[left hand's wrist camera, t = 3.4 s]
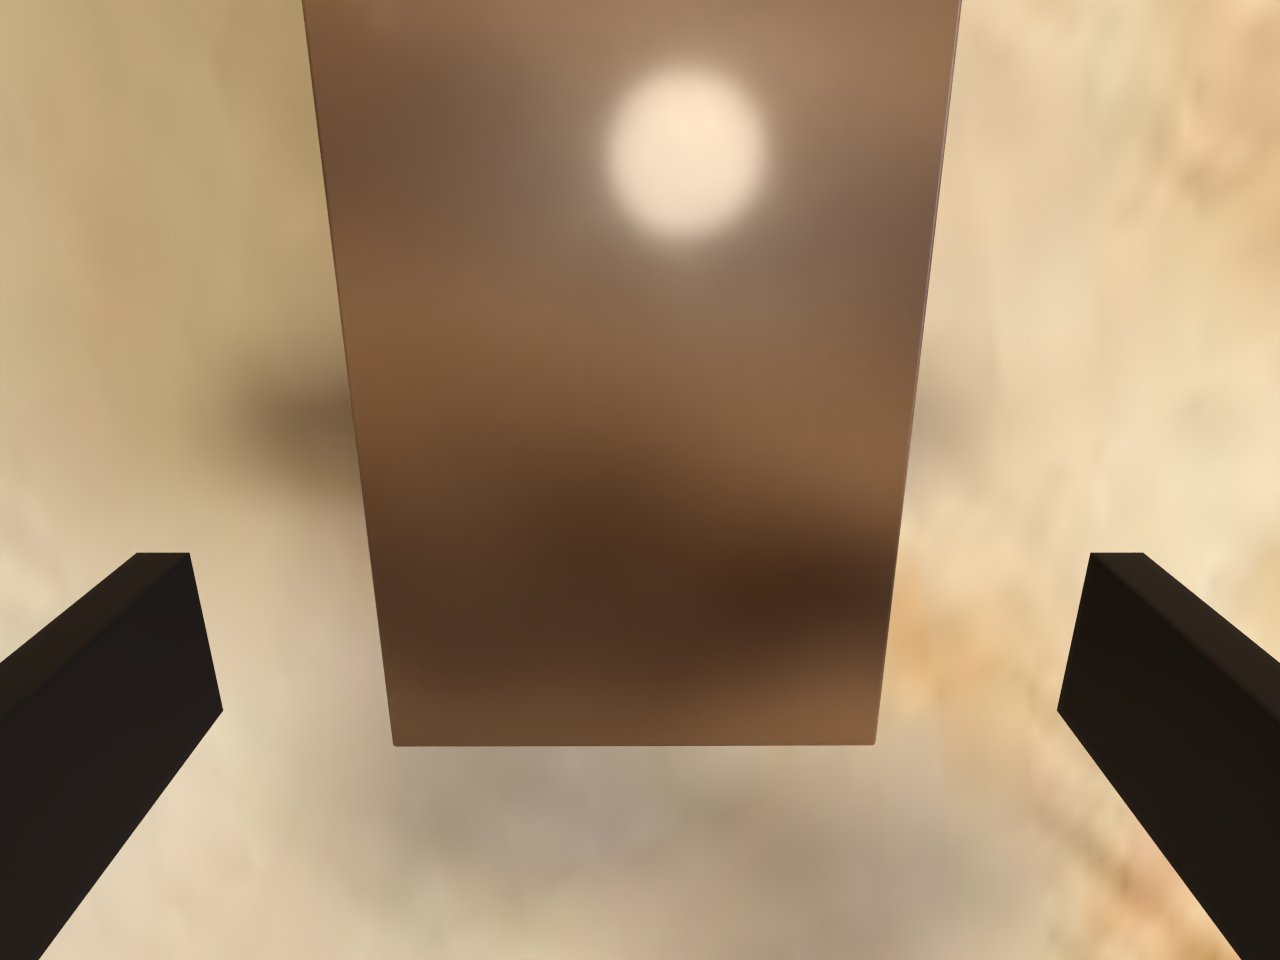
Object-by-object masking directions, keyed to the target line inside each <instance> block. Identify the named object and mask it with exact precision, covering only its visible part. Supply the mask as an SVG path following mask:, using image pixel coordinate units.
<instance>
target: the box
mask: <svg viewBox="0 0 1280 960" xmlns="http://www.w3.org/2000/svg"><path fill="white" fill-rule="evenodd" d="M961 4H962V0H302V6H303V14H304V22H305V31H306V39H307V47H308V55H309V63H310V71H311V79H312V88H313V96H314V104H315V112H316V120H317V128H318V136H319V145H320V153H321V161H322V169H323V177H324V185H325V194H326V202H327V210H328V218H329V226H330V234H331V242H332V251H333V259H334V267H335V275H336V283H337V291H338V300H339V308H340V316H341V324H342V332H343V340H344V348H345V357H346V365H347V373H348V381H349V389H350V397H351V405H352V414H353V422H354V430H355V438H356V446H357V454H358V463H359V471H360V479H361V487H362V495H363V503H364V511H365V520H366V528H367V536H368V544H369V552H370V560H371V568H372V577H373V585H374V593H375V601H376V609H377V617H378V626H379V634H380V642H381V650H382V658H383V666H384V674H385V683H386V691H387V699H388V707H389V715H390V723H391V731H392V740H393V745H394V746H766V745H874V744H875V741H876V732H877V724H878V715H879V706H880V698H881V689H882V681H883V672H884V664H885V655H886V646H887V638H888V629H889V621H890V612H891V604H892V595H893V586H894V578H895V569H896V561H897V552H898V544H899V535H900V527H901V518H902V509H903V501H904V492H905V484H906V475H907V467H908V458H909V449H910V441H911V432H912V424H913V415H914V407H915V398H916V390H917V381H918V372H919V364H920V355H921V347H922V338H923V330H924V321H925V312H926V304H927V295H928V287H929V278H930V270H931V261H932V252H933V244H934V235H935V227H936V218H937V210H938V201H939V193H940V184H941V175H942V167H943V158H944V150H945V141H946V133H947V124H948V115H949V107H950V98H951V90H952V81H953V73H954V64H955V56H956V47H957V38H958V30H959V21H960V13H961Z"/></svg>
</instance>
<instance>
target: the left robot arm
mask: <svg viewBox="0 0 1280 960" xmlns="http://www.w3.org/2000/svg"><path fill="white" fill-rule="evenodd" d="M222 711H223V708H222V703H221V698H220V694H219V689H218V684H217V679H216V675H215V670H214V665H213V661H212V656H211V651H210V647H209V642H208V637H207V633H206V628H205V623H204V618H203V614H202V609H201V604H200V600H199V595H198V590H197V586H196V581H195V576H194V572H193V567H192V562H191V558H190V553H136V554H135V555H133V556H132V557H131V558H130V559H129V560H127V561H126V562H125V563H124V564H122V565H121V566H120V567H119V568H117V569H116V570H115V571H114V572H112V573H111V574H110V575H109V576H107V577H106V578H105V579H104V580H102V581H101V582H100V583H99V584H98V585H96V586H95V587H94V588H93V589H91V590H90V591H89V592H88V593H86V594H85V595H84V596H83V597H81V598H80V599H79V600H78V601H76V602H75V603H74V604H73V605H71V606H70V607H69V608H68V609H67V610H65V611H64V612H63V613H62V614H60V615H59V616H58V617H57V618H55V619H54V620H53V621H52V622H50V623H49V624H48V625H47V626H45V627H44V628H43V629H42V630H40V631H39V632H38V633H37V634H36V635H34V636H33V637H32V638H31V639H29V640H28V641H27V642H26V643H24V644H23V645H22V646H21V647H19V648H18V649H17V650H16V651H14V652H13V653H12V654H11V655H9V656H8V657H7V658H6V659H4V660H3V661H2V662H1V663H0V960H39V959H40V957H41V956H42V955H43V953H44V952H45V950H46V949H47V948H48V946H49V945H50V944H51V942H52V941H53V940H54V938H55V937H56V936H57V934H58V933H59V932H60V930H61V929H62V928H63V926H64V925H65V923H66V922H67V921H68V919H69V918H70V917H71V915H72V914H73V913H74V911H75V910H76V909H77V907H78V906H79V905H80V903H81V902H82V900H83V899H84V898H85V896H86V895H87V894H88V892H89V891H90V890H91V888H92V887H93V886H94V884H95V883H96V882H97V880H98V879H99V878H100V876H101V875H102V873H103V872H104V871H105V869H106V868H107V867H108V865H109V864H110V863H111V861H112V860H113V859H114V857H115V856H116V855H117V853H118V852H119V850H120V849H121V848H122V846H123V845H124V844H125V842H126V841H127V840H128V838H129V837H130V836H131V834H132V833H133V832H134V830H135V829H136V828H137V826H138V825H139V823H140V822H141V821H142V819H143V818H144V817H145V815H146V814H147V813H148V811H149V810H150V809H151V807H152V806H153V805H154V803H155V802H156V800H157V799H158V798H159V796H160V795H161V794H162V792H163V791H164V790H165V788H166V787H167V786H168V784H169V783H170V782H171V780H172V779H173V778H174V776H175V775H176V773H177V772H178V771H179V769H180V768H181V767H182V765H183V764H184V763H185V761H186V760H187V759H188V757H189V756H190V755H191V753H192V752H193V750H194V749H195V748H196V746H197V745H198V744H199V742H200V741H201V740H202V738H203V737H204V736H205V734H206V733H207V732H208V730H209V729H210V728H211V726H212V725H213V723H214V722H215V721H216V719H217V718H218V717H219V715H220V714H221V713H222ZM1057 711H1058V713H1059V714H1060V715H1061V717H1062V718H1063V719H1064V721H1065V722H1066V723H1067V725H1068V726H1069V728H1070V729H1071V730H1072V732H1073V733H1074V734H1075V736H1076V737H1077V738H1078V740H1079V741H1080V742H1081V744H1082V745H1083V746H1084V748H1085V749H1086V750H1087V752H1088V753H1089V755H1090V756H1091V757H1092V759H1093V760H1094V761H1095V763H1096V764H1097V765H1098V767H1099V768H1100V769H1101V771H1102V772H1103V773H1104V775H1105V776H1106V778H1107V779H1108V780H1109V782H1110V783H1111V784H1112V786H1113V787H1114V788H1115V790H1116V791H1117V792H1118V794H1119V795H1120V796H1121V798H1122V799H1123V800H1124V802H1125V803H1126V805H1127V806H1128V807H1129V809H1130V810H1131V811H1132V813H1133V814H1134V815H1135V817H1136V818H1137V819H1138V821H1139V822H1140V823H1141V825H1142V826H1143V828H1144V829H1145V830H1146V832H1147V833H1148V834H1149V836H1150V837H1151V838H1152V840H1153V841H1154V842H1155V844H1156V845H1157V846H1158V848H1159V849H1160V850H1161V852H1162V853H1163V855H1164V856H1165V857H1166V859H1167V860H1168V861H1169V863H1170V864H1171V865H1172V867H1173V868H1174V869H1175V871H1176V872H1177V873H1178V875H1179V876H1180V878H1181V879H1182V880H1183V882H1184V883H1185V884H1186V886H1187V887H1188V888H1189V890H1190V891H1191V892H1192V894H1193V895H1194V896H1195V898H1196V899H1197V900H1198V902H1199V903H1200V905H1201V906H1202V907H1203V909H1204V910H1205V911H1206V913H1207V914H1208V915H1209V917H1210V918H1211V919H1212V921H1213V922H1214V923H1215V925H1216V926H1217V928H1218V929H1219V930H1220V932H1221V933H1222V934H1223V936H1224V937H1225V938H1226V940H1227V941H1228V942H1229V944H1230V945H1231V946H1232V948H1233V949H1234V950H1235V952H1236V953H1237V955H1238V956H1239V957H1240V959H1241V960H1280V663H1279V662H1278V661H1277V660H1276V659H1274V658H1273V657H1272V656H1271V655H1269V654H1268V653H1267V652H1266V651H1264V650H1263V649H1262V648H1261V647H1259V646H1258V645H1257V644H1256V643H1254V642H1253V641H1252V640H1251V639H1249V638H1248V637H1247V636H1246V635H1244V634H1243V633H1242V632H1241V631H1240V630H1238V629H1237V628H1236V627H1235V626H1233V625H1232V624H1231V623H1230V622H1228V621H1227V620H1226V619H1225V618H1223V617H1222V616H1221V615H1220V614H1218V613H1217V612H1216V611H1215V610H1213V609H1212V608H1211V607H1210V606H1209V605H1207V604H1206V603H1205V602H1204V601H1202V600H1201V599H1200V598H1199V597H1197V596H1196V595H1195V594H1194V593H1192V592H1191V591H1190V590H1189V589H1187V588H1186V587H1185V586H1184V585H1182V584H1181V583H1180V582H1179V581H1178V580H1176V579H1175V578H1174V577H1173V576H1171V575H1170V574H1169V573H1168V572H1166V571H1165V570H1164V569H1163V568H1161V567H1160V566H1159V565H1158V564H1156V563H1155V562H1154V561H1153V560H1151V559H1150V558H1149V557H1148V556H1147V555H1145V554H1144V553H1090V558H1089V562H1088V567H1087V572H1086V576H1085V581H1084V586H1083V590H1082V595H1081V600H1080V604H1079V609H1078V614H1077V618H1076V623H1075V628H1074V633H1073V637H1072V642H1071V647H1070V651H1069V656H1068V661H1067V665H1066V670H1065V675H1064V679H1063V684H1062V689H1061V694H1060V698H1059V703H1058V708H1057Z"/></svg>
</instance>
